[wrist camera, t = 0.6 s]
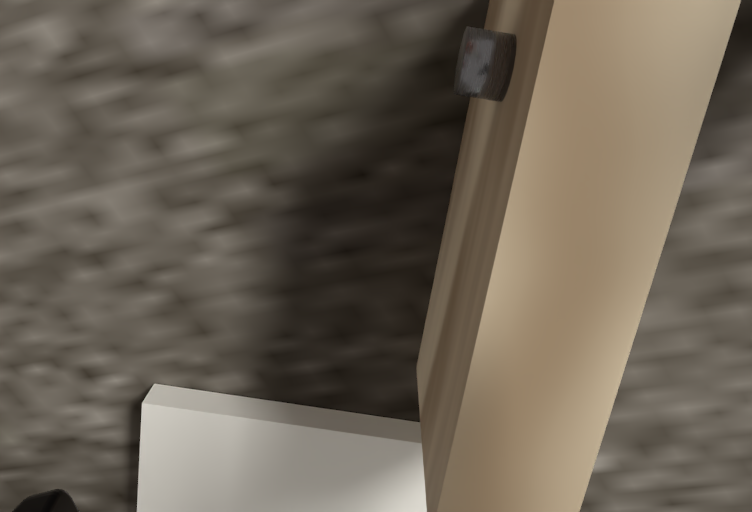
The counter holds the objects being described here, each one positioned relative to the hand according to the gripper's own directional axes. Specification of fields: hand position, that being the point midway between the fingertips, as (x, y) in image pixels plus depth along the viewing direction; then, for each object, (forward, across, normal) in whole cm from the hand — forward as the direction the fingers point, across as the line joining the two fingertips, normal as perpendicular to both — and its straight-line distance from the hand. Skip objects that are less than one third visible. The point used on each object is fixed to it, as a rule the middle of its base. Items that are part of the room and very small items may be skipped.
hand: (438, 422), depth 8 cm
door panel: (+12, -4, +3) cm, 13 cm away
